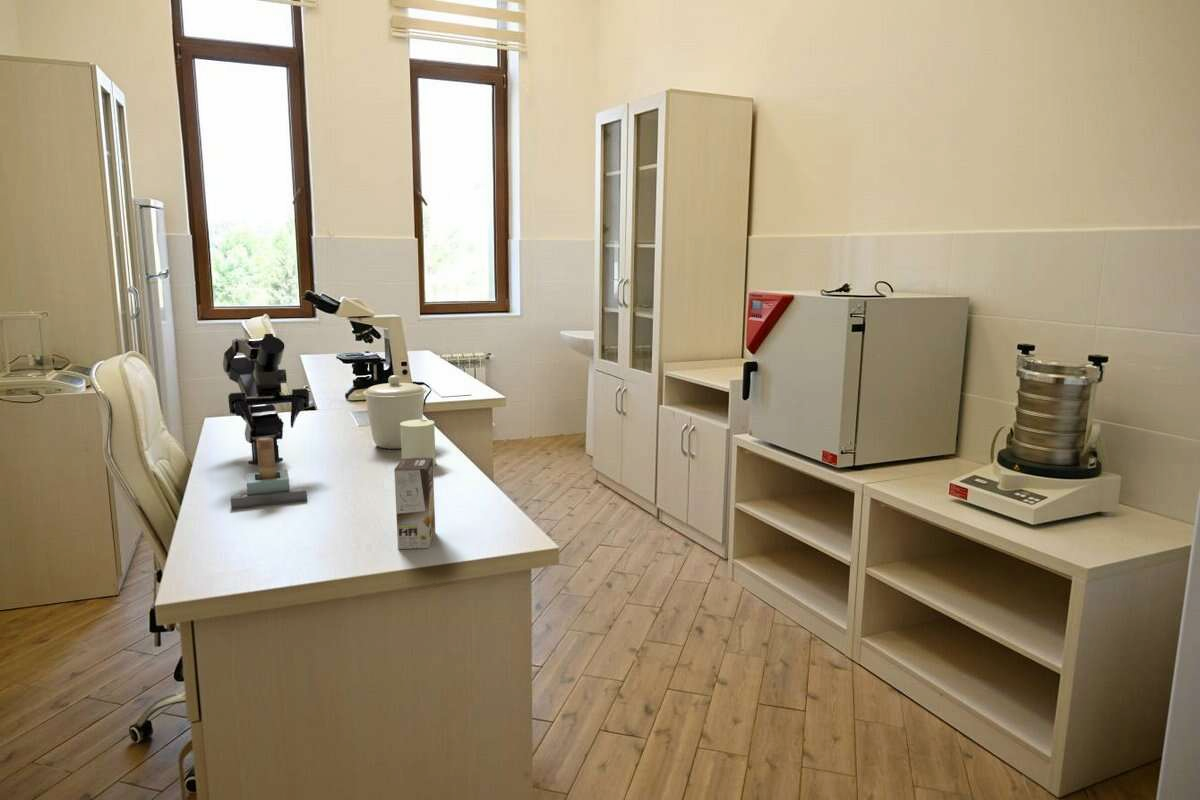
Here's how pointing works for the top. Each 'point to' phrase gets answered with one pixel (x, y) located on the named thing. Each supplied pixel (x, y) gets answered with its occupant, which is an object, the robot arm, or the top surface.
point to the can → (418, 439)
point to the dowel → (266, 458)
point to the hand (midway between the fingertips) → (272, 428)
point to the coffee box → (415, 503)
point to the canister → (393, 409)
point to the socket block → (267, 483)
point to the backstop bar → (268, 498)
